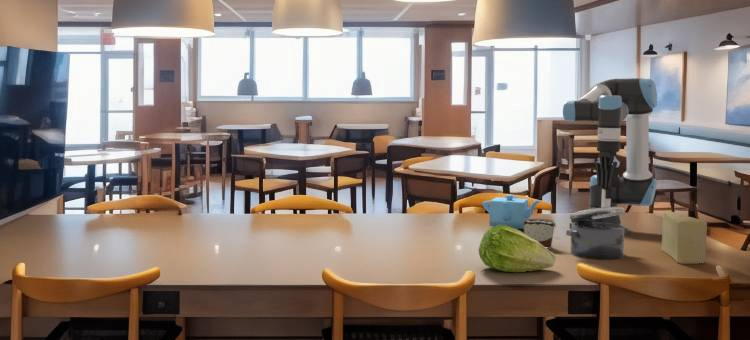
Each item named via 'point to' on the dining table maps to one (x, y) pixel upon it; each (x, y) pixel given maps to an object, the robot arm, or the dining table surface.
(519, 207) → the teakettle
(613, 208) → the lid
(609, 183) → the robot arm
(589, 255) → the stockpot
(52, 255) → the dining table surface
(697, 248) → the cheese
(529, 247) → the lettuce
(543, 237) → the food container
